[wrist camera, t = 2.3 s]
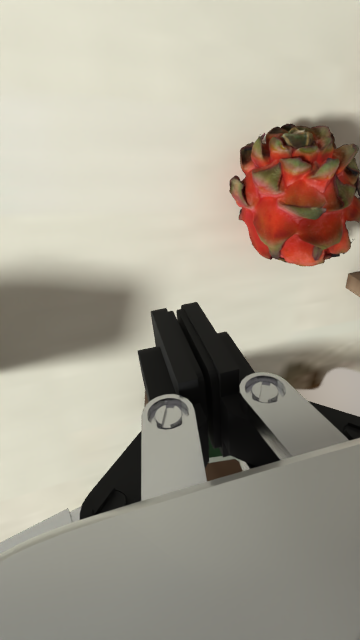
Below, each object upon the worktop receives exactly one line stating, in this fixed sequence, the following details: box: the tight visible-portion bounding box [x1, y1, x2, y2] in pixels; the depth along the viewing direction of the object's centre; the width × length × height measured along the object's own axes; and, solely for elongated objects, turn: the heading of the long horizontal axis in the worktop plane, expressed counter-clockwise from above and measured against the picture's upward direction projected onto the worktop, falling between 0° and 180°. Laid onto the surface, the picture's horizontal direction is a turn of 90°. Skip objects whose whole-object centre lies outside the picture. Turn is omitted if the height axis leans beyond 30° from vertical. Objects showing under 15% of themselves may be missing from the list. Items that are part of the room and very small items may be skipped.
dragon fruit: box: [230, 124, 360, 266], centre depth 25 cm, size 8×8×12 cm
